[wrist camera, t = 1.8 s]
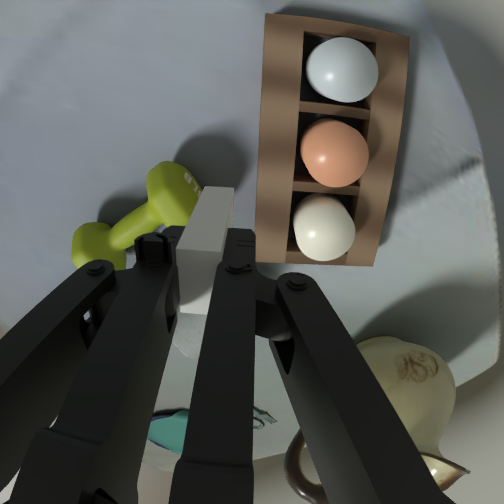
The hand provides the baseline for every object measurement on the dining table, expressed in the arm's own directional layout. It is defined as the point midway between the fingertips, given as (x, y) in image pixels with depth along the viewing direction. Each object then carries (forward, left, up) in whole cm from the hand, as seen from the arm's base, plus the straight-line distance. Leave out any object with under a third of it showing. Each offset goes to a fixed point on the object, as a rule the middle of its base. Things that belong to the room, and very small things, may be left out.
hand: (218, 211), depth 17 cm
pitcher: (+34, +22, -18) cm, 44 cm away
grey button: (-9, +9, -17) cm, 21 cm away
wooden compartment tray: (0, +9, -18) cm, 20 cm away
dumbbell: (+8, -11, -19) cm, 23 cm away
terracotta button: (0, +9, -17) cm, 19 cm away
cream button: (+7, +9, -17) cm, 20 cm away
